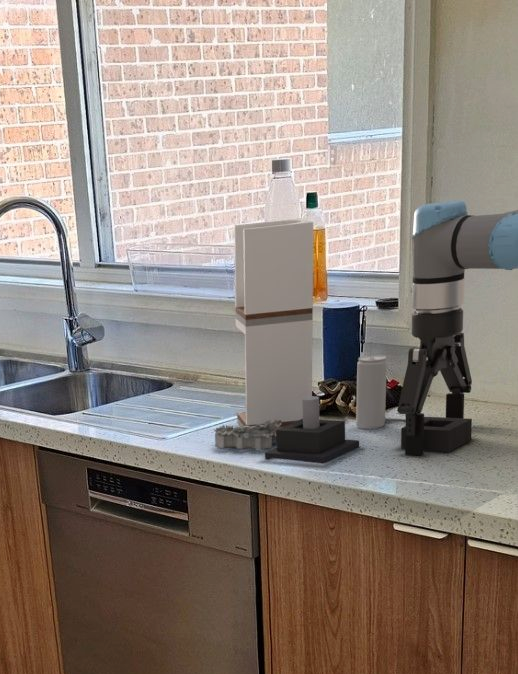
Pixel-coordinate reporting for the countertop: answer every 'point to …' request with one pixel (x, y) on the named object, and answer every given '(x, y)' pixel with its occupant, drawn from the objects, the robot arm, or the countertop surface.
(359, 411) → the beverage can
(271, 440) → the egg carton
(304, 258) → the striped white tower
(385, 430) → the countertop surface
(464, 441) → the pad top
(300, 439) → the black square ring block
